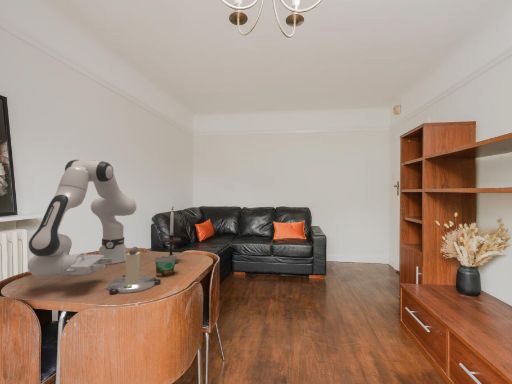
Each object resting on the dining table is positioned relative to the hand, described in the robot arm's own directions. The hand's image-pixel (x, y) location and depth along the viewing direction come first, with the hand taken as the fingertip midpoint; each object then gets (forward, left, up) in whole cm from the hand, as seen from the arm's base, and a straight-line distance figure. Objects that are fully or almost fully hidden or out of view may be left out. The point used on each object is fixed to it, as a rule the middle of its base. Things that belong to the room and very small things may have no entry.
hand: (108, 263), depth 115 cm
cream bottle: (0, +10, -9) cm, 13 cm away
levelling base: (0, +11, -10) cm, 15 cm away
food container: (-13, +24, -10) cm, 29 cm away
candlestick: (-38, +23, -10) cm, 46 cm away
